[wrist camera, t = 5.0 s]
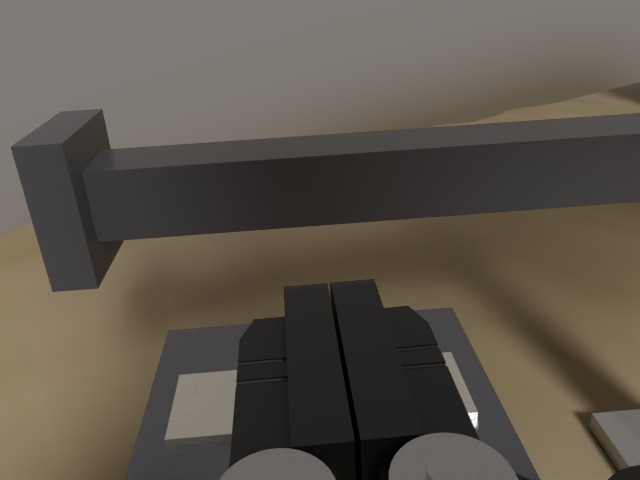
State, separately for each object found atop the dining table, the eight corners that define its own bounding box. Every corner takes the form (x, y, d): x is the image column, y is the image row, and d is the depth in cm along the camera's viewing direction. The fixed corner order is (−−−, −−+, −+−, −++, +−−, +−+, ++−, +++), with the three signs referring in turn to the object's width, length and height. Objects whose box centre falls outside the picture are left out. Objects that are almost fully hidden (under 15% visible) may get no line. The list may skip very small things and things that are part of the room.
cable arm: (771, 184, 20) (808, 62, 18) (869, 228, 17) (925, 85, 15) (90, 235, 19) (60, 111, 17) (52, 291, 16) (10, 147, 14)
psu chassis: (446, 399, 27) (452, 301, 25) (532, 618, 18) (554, 496, 16) (186, 422, 27) (167, 324, 24) (140, 658, 18) (103, 539, 15)
